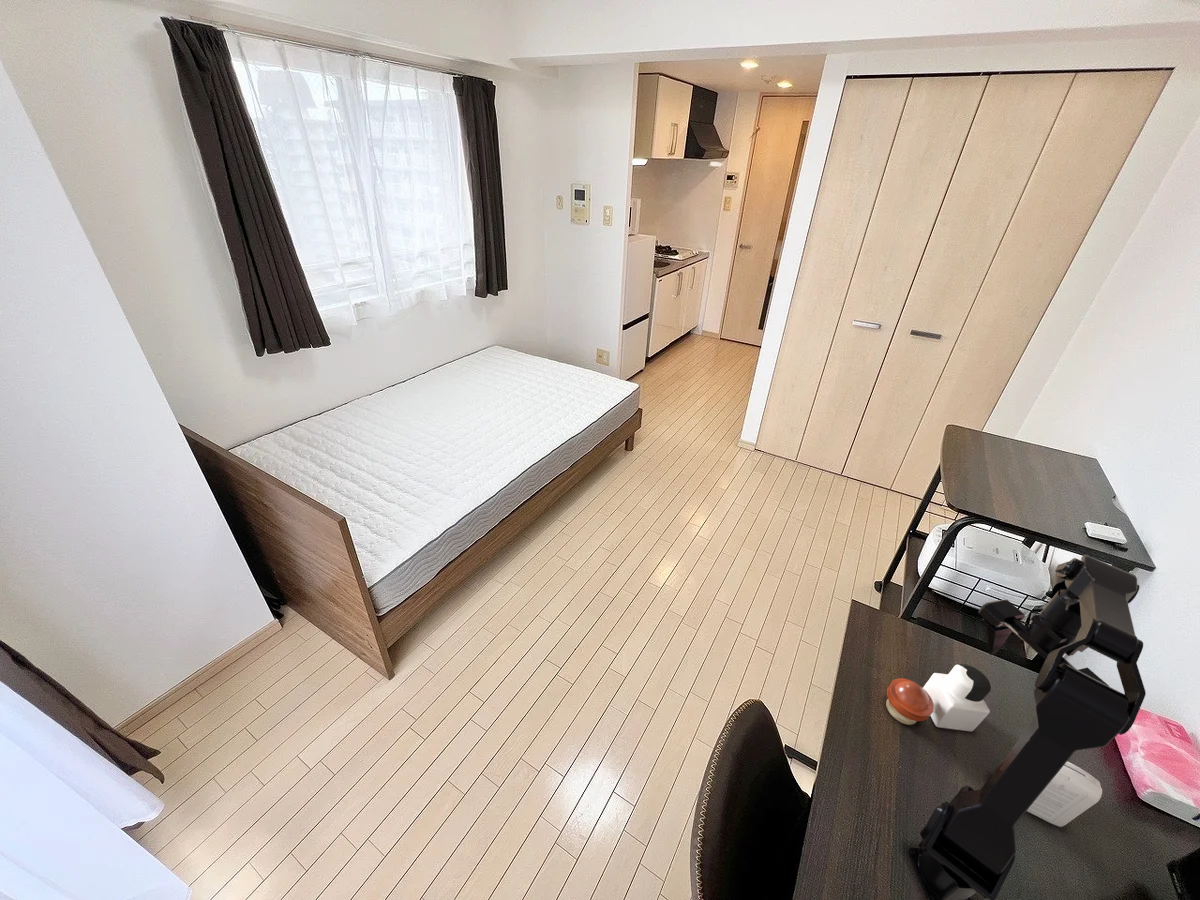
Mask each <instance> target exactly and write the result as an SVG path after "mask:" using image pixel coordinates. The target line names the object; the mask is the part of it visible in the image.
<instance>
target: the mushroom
mask: <svg viewBox="0 0 1200 900" xmlns="http://www.w3.org/2000/svg"><path fill="white" fill-rule="evenodd" d="M886 695H887V696H886V697H887V699H886V702H885V704H886V709H887V711H888V713H889V714H890V715H891V716H892V717H893V718H894V720H897V722H899V723H900V724H904V725H908V726H912V725H915V724H916V723H917V722H924V721H927V720H928V719H929V718H930V717H931V716H930V715H931V714H932V713H933V711H934V703H933V701H932V699H931V697H930V695H929V694H928V693H927V692H926V691H925V690H924V689H923V686H921V685H920V684H919V683H916V682H915V681H913V680H910V679H908V678H901V677H899V678H895V679H893V680H892V681H891V683H890V684H889V685H888V686H887V689H886Z"/></svg>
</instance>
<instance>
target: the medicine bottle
mask: <svg viewBox="0 0 1200 900" xmlns="http://www.w3.org/2000/svg"><path fill="white" fill-rule="evenodd" d="M922 688H923V689H924V690H925V691H926V692H927V693H928V694H929V695H930V697H931V699H932V701H933V703H934V711H933V713H932V714H931V715H930V717H931V720H932V722H933V724H934V726H935V727H936V728H941V729H947V730H949V729H950V730H957V731H964V732H974V731H975V730H976V728H977V727H978V726H979V725H980V724H981V723H982V722H983V721H984V720H985V719H986V718H987V717H988V715H989V714H990V713H991V710H990V708H989V707H988V705H987V703H986V702H985V698H986V697H987V696H988V695H989V693H990V692H991V691H992V685H991V682H990V680H989V679H988V678H987V676H986V675H985V674H984V673H983V672H982V671H981V670H979V669H978V668H976V667H974V666H972V665H969V664H966V663H958V664H955V665H954V666H953V667H952V669H951V670H950V672H949V673H948V674H947V673H939V672H933V673H932V675H931V676H929V679H928V680H927V681H926V683H925V684H924V685H923V686H922Z"/></svg>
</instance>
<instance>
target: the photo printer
mask: <svg viewBox="0 0 1200 900" xmlns="http://www.w3.org/2000/svg"><path fill="white" fill-rule="evenodd" d="M1102 795H1103V789H1102V787H1101V782H1100V781H1099V780H1098V779H1097V778H1096V777H1094V776H1093V775H1091V774H1090V773H1088V771H1086V770H1084V769H1082V768H1081V767H1078V765H1076V764H1074V763H1071V762H1070V761H1067V762H1066V763H1065V765H1064V766H1063V767H1062V768H1061V769H1060V771H1059V772H1058V773H1057V774H1056V776H1055V777H1054V778H1053V779H1052V780H1051V782H1050V783H1049V784H1048V785H1047V787H1046V788H1045V789H1044V790H1043V791H1042V793H1041V794H1040V795H1039V796H1038V798H1037V799H1036V800H1035V801H1034V802H1033V804H1032V805H1031V806H1030V807H1029V808H1028V810H1027V811H1026V812H1027V813H1029V814H1031V815H1034V816H1036V817H1038V818H1039V819H1041V820H1043V821H1045V822H1047V823H1049V824H1051V825H1054V826H1056V827H1059V828H1063V827H1065V826H1066V825H1068V824H1069V823H1070V822H1071V821H1073V820H1074V819H1076V818H1077V817H1078V816H1080V815H1081V814H1083V813H1084V812H1085V811H1087V810H1088V809H1090V808H1091V807H1093V806H1094V805H1095V804H1097V803H1099V801H1100V800H1101V798H1102Z"/></svg>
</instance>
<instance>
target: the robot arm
mask: <svg viewBox="0 0 1200 900" xmlns="http://www.w3.org/2000/svg"><path fill="white" fill-rule="evenodd" d="M1051 591H1052V592H1051V594H1052V596H1053V597H1052V598H1051V599H1050V600H1049V601H1048V603H1047V604H1046V605H1045V606H1044V607H1043V608H1042V610H1041V611H1040V612H1039V613H1038V614H1035V615H1033V616H1032V617H1030V621H1031V623H1030V624H1029V625H1028V626H1026V625H1025V624H1024V623H1023V622H1022V621H1023V620H1024V619H1025V618H1026V615H1025V613H1024V612H1022V611H1021V610H1020V609H1019V608H1018V607H1017V606H1015V605H1014V604H1013V603H1012V602H1010V601H1009V600H1008V599H999V600H993V601H989V602H985V603H984V604H982V605H981V607H980V608H979V610H978V614H979V615H980V617H982V623H984V624H985V629H986V635H987V644H988V645H987V646H988V654H989V655H991V656H993V655H995V654H996V653H998V652H999V650H1000V649H1001V648H1002V646H1003V645H1004V644H1005V643H1006V641H1007V639H1008V638H1009V636H1010V635H1011V634H1012V633H1014V634H1015V635H1016V636H1017V637H1018V638H1019V639H1021V640H1022V641H1023V642H1024V643H1025V644H1026V645H1028V646H1029V648H1031V649H1032V650H1033V651H1034V652H1035V653H1037V654H1038V655H1040V657H1042V658H1043V659H1045V660H1044V662H1043V664H1042V665H1041V668H1040V671H1039V673H1038V675H1037V677H1036V679H1035V682H1034V688H1035V689H1034V690H1033V697H1034V705H1035V713H1036V715H1035V717H1034V718H1033V720H1032V721H1031V722H1030V723H1029V725H1028V726H1027V728H1026V729H1025V730H1024V731H1023V733H1022V734H1021V736H1020V737H1019V738H1018V739H1017V741H1016V742H1015V744H1014V745H1013V746H1012V747H1011V749H1010V750H1009V751H1008V753H1007V754H1006V756H1004V758H1003V759H1002V761H1001V762H1000V763H999V764H998V766H997V767H996V769H995V770H994V771H993V772H992V774H991V775H990V776H989V778H988V779H986V782H985V783H984V784H983V786H982V787H981V788H980V789H974V788H972V787H971V786H970V785H964V786H962V787H960V790H959V791H958V792H957V793H956V795H954V797H953V798H952V799H951V800H950V802H949V801H947V800H946V801H944V802H942V803H941V804H940V805H938V806H936V807H935V809H934V810H933V812H932V814H931V815H930V817H929V818H928V821H927V822H926V824H925V825H924V827H923V828H921V830H920V832H919V835H920V837H921V839H922V840H921V841H920V842H919V843H918V847H908V848H907V850H906V852H907V855H908V856H909V859H910V862H911V863H912V866H913V868H914V871H915V873H916V875H917V878H918V880H919V883H920V885H921V887H922V889H923V892H924V895H925V897H926V899H927V900H973V899H972V896H973V895H975V894H976V893H977V894H978V895H980V896H981V897H982V898H983V899H984V900H996V898H997V896H998V895H999V893H1000V891H1001V889H1002V887H1003V884H1004V883H1005V880H1006V879H1007V877H1008V875H1009V874H1010V871H1011V869H1012V867H1013V865H1014V863H1015V859H1016V853H1017V851H1016V850H1017V849H1016V848H1017V847H1016V830H1015V826H1016V824H1017V823H1018V822H1019V821H1020V820H1021V818H1023V816H1024V815H1025V813H1026V812H1028V811H1027V810H1028V808H1029V807H1030V806H1031V805H1032V804H1033V802H1034V801H1035V800H1036V799H1037V798H1038V796H1039V795H1040V794H1041V793H1042V791H1043V790H1044V789H1045V788H1046V787H1047V785H1048V784H1049V783H1050V782H1051V780H1052V779H1053V778H1054V777H1055V776H1056V774H1057V773H1058V772H1059V771H1060V769H1061V768H1062V767H1063V766H1064V765H1065V763H1066V762H1069V760H1070V759H1071V758H1072V756H1073V755H1075V752H1077V751H1084V750H1091V749H1098V748H1104V747H1107V746H1108V745H1109V744H1110V743H1111V742H1112V741H1113V740H1114V739H1115V738H1116V737H1117V736H1118V735H1125V734H1126V733H1127V732H1128V731H1129V730H1131V728H1132V727H1133V725H1134V723H1135V721H1136V718H1137V716H1138V714H1139V712H1140V710H1141V707H1142V705H1143V702H1144V700H1145V698H1146V695H1147V693H1146V689H1145V686H1144V682H1143V680H1142V676H1141V672H1140V669H1139V667H1138V664H1137V662H1139V661H1138V660H1139V658H1140V656H1141V654H1142V651H1143V648H1144V641H1142V640H1141V639H1139V638H1138V637H1137V635H1136V632H1135V627H1134V623H1133V619H1132V615H1131V611H1130V605H1129V604H1131V602H1132V601H1133V600H1134V599H1135V598H1136V596H1137V595H1138V593H1139V591H1140V585H1139V584H1138V578H1137V576H1136V575H1135V574H1133V573H1131V572H1128V571H1126V570H1124V569H1121V568H1119V567H1116V566H1114V565H1112V564H1109V563H1106V562H1104V561H1101V560H1099V559H1097V558H1095V557H1092V556H1090V555H1087V554H1084V555H1082V556H1081V558H1080V559H1079V558H1076V557H1074V558H1072V559H1070V560H1069V561H1066V562H1063V563H1060V564H1057V566H1056V567H1055V570H1054V578H1053V584H1052V590H1051ZM1088 648H1089V649H1091V650H1093V651H1094V652H1097V653H1099V654H1100V655H1102V656H1104V657H1106V658H1109V659H1111V660H1112V661H1115V662H1116V669H1117V672H1118V675H1119V678H1120V681H1121V685H1122V689H1123V692H1124V693H1123V692H1121V691H1119V690H1117V689H1114V688H1113V687H1111V686H1110V685H1109V684H1108V683H1106V682H1105V681H1104V680H1103V679H1102V678H1101V677H1100V676H1098V675H1097V674H1096V673H1095V672H1094V671H1093V670H1091V669H1090V668H1089V667H1083V668H1080V669H1078V668H1076V666H1074V665H1073V664H1071V662H1069V661H1068V660H1067V658H1065V657H1064V656H1065V655H1066V656H1068V657H1069V656H1070V657H1071V656H1074V655H1075V654H1076V653H1077V652H1080V653H1083V652H1084V651H1086V650H1087V649H1088Z"/></svg>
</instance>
